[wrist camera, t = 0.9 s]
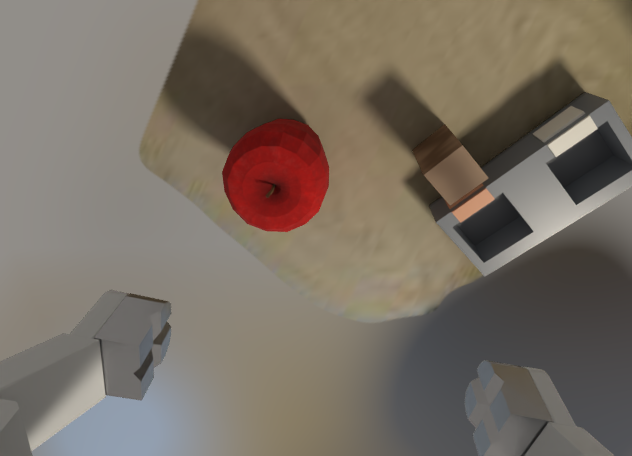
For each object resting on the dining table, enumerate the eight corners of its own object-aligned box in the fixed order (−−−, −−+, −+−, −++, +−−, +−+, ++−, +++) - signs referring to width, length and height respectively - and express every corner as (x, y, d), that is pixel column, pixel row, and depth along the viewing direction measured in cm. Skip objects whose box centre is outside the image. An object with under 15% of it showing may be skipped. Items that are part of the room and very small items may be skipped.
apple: (311, 203, 51) (300, 262, 39) (234, 172, 50) (200, 223, 38) (346, 127, 46) (346, 168, 35) (262, 90, 45) (232, 119, 33)
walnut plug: (444, 124, 46) (462, 145, 39) (467, 152, 47) (488, 178, 40) (412, 150, 47) (423, 175, 40) (435, 177, 49) (450, 205, 42)
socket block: (583, 89, 43) (609, 98, 39) (627, 159, 46) (655, 173, 42) (427, 203, 50) (434, 221, 46) (474, 256, 53) (485, 277, 49)
